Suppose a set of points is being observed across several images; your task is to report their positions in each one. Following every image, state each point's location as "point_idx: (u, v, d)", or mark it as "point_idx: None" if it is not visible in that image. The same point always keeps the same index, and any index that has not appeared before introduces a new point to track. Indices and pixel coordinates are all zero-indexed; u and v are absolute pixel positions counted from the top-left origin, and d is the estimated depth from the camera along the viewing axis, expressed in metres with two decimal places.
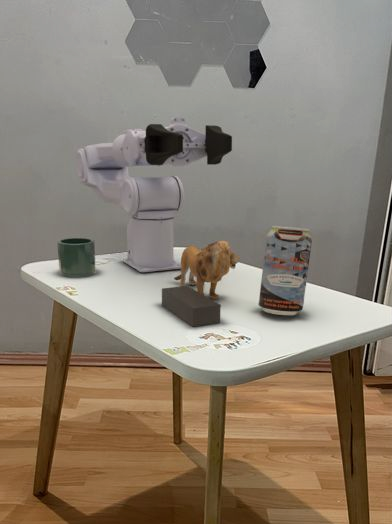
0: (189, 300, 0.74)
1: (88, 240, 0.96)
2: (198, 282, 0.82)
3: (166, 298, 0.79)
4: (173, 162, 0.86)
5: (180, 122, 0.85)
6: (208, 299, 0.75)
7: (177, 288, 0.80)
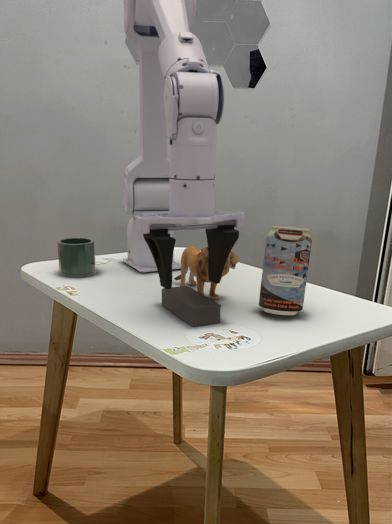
0: (189, 300, 0.74)
1: (88, 240, 0.96)
2: (198, 282, 0.82)
3: (166, 298, 0.79)
4: None
5: None
6: (208, 299, 0.75)
7: (177, 288, 0.80)
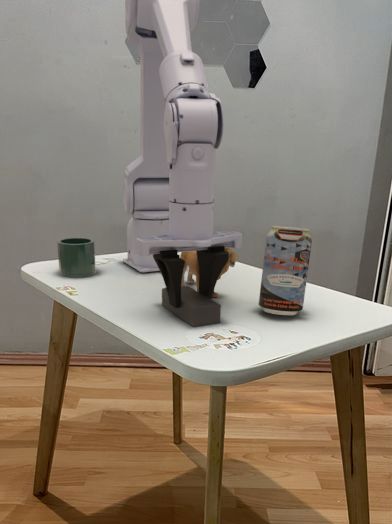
0: (189, 300, 0.74)
1: (88, 240, 0.96)
2: (198, 280, 0.82)
3: (166, 298, 0.79)
4: None
5: None
6: (208, 299, 0.75)
7: None
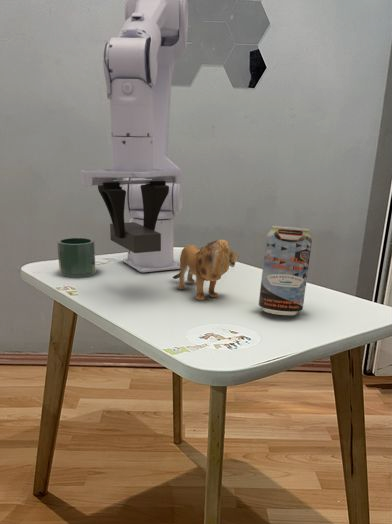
0: (133, 231, 0.80)
1: (88, 240, 0.96)
2: (198, 280, 0.82)
3: (113, 232, 0.84)
4: None
5: None
6: (150, 230, 0.81)
7: (124, 223, 0.85)
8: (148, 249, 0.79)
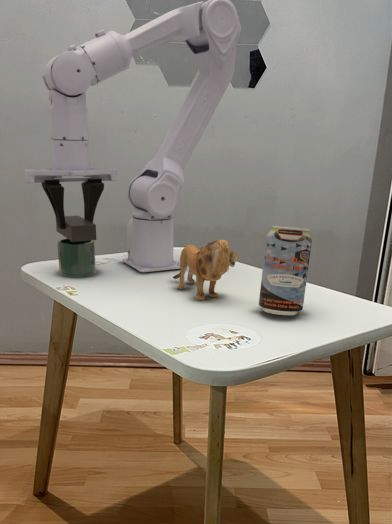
0: (72, 222, 0.91)
1: None
2: (198, 280, 0.82)
3: None
4: None
5: None
6: (88, 222, 0.92)
7: (68, 216, 0.97)
8: (84, 238, 0.90)
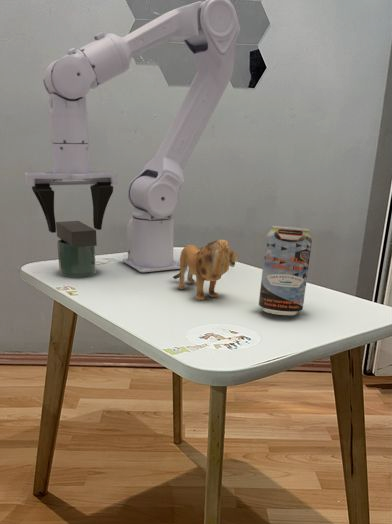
0: (72, 228, 0.92)
1: None
2: (198, 280, 0.82)
3: (58, 229, 0.96)
4: None
5: (78, 178, 0.88)
6: (88, 227, 0.92)
7: (69, 222, 0.97)
8: (85, 244, 0.90)
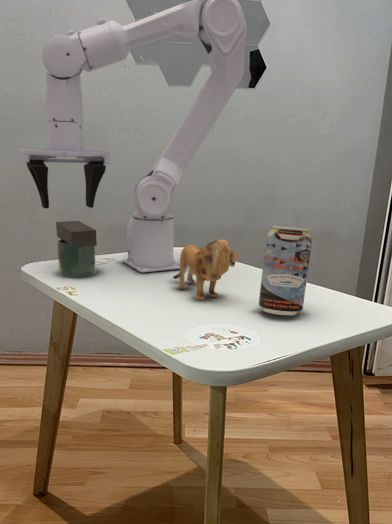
0: (72, 228, 0.92)
1: None
2: (198, 280, 0.83)
3: (58, 229, 0.96)
4: None
5: (72, 156, 0.91)
6: (88, 227, 0.92)
7: (69, 222, 0.97)
8: (85, 244, 0.90)
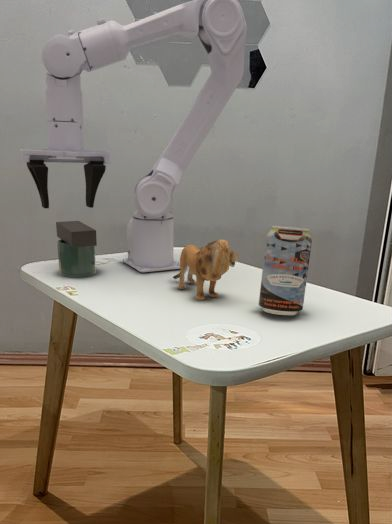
0: (72, 228, 0.92)
1: None
2: (198, 280, 0.83)
3: (58, 229, 0.96)
4: None
5: (72, 156, 0.91)
6: (88, 227, 0.92)
7: (69, 222, 0.97)
8: (85, 244, 0.90)
